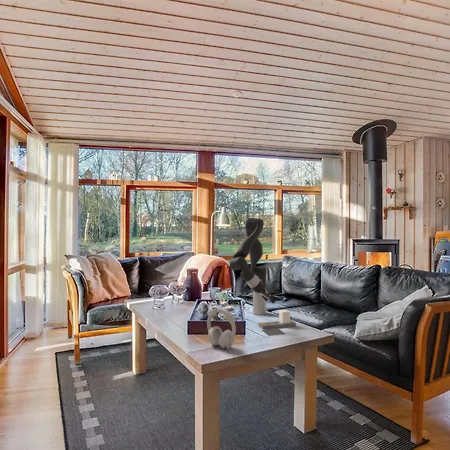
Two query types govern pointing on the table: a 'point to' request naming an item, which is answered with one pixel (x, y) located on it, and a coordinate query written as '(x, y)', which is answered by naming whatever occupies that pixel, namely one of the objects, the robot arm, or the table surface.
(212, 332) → the headphones
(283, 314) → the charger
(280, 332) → the mat
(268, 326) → the power strip
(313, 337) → the table surface
